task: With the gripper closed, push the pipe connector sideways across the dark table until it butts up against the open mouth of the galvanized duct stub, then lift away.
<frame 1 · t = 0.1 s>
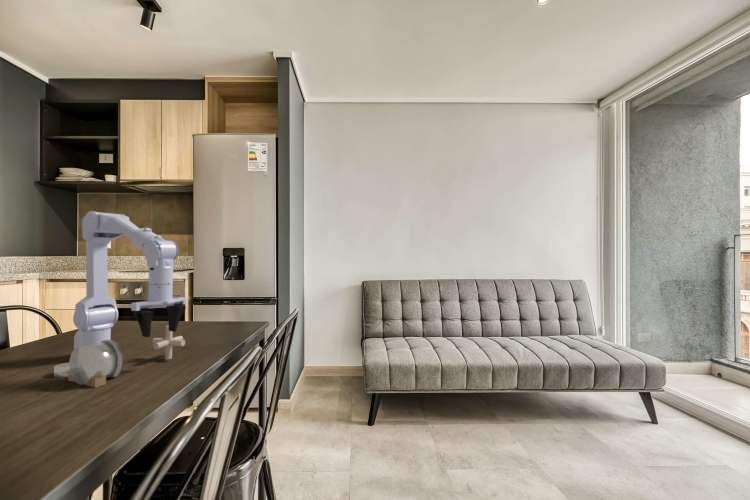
hand: (159, 333, 100), 10 cm above the table, tool pointing down, fingers open, 7 cm apart
foil tape roll: (66, 374, 96), on the table
duct stub: (95, 379, 92), on the table
pipe connector: (168, 359, 111), on the table
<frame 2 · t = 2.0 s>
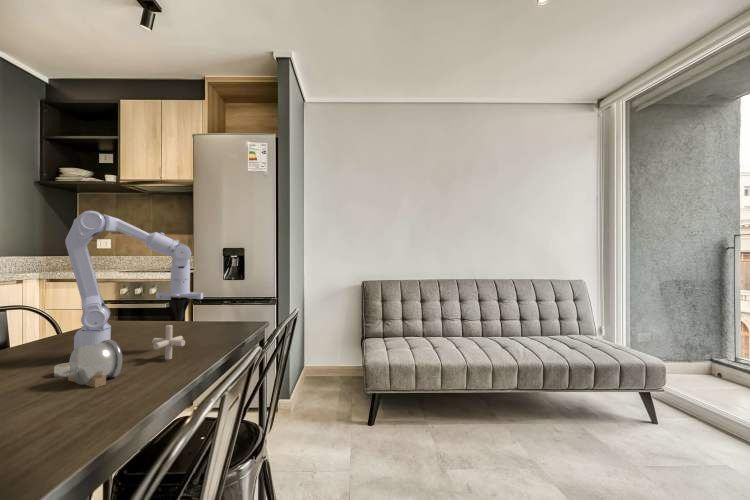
hand: (179, 320, 123), 9 cm above the table, tool pointing down, fingers closed
nothing on the table moved.
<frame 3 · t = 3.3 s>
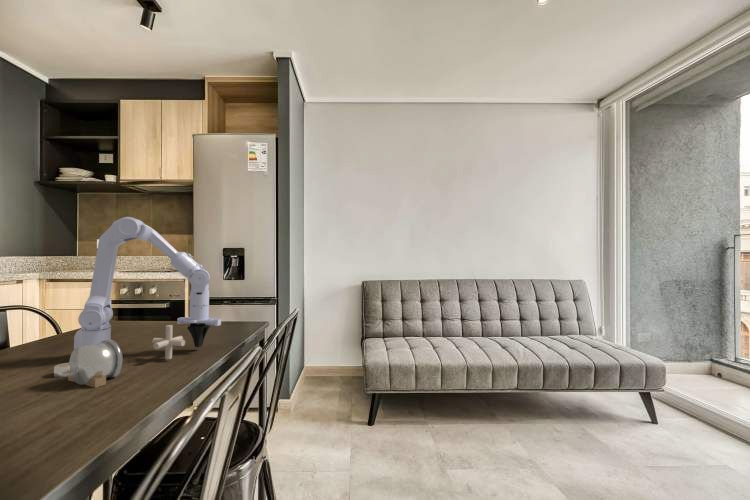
hand: (198, 346, 121), 1 cm above the table, tool pointing down, fingers closed
nothing on the table moved.
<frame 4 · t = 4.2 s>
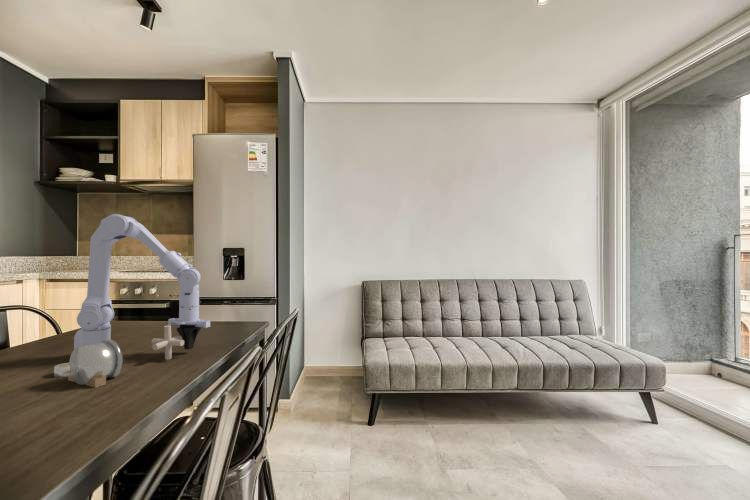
hand: (188, 348, 118), 1 cm above the table, tool pointing down, fingers closed
pipe connector: (168, 359, 111), on the table, touching gripper
everything else where it was.
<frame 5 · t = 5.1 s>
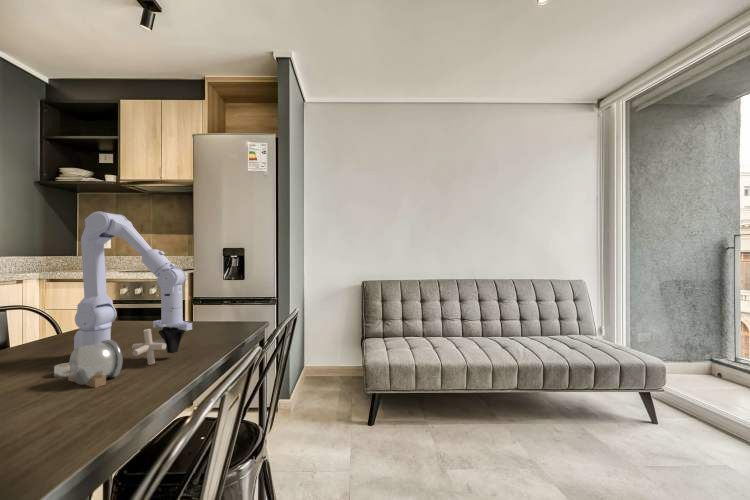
hand: (172, 352, 112), 2 cm above the table, tool pointing down, fingers closed
pipe connector: (151, 364, 106), on the table, touching gripper
everything else where it was.
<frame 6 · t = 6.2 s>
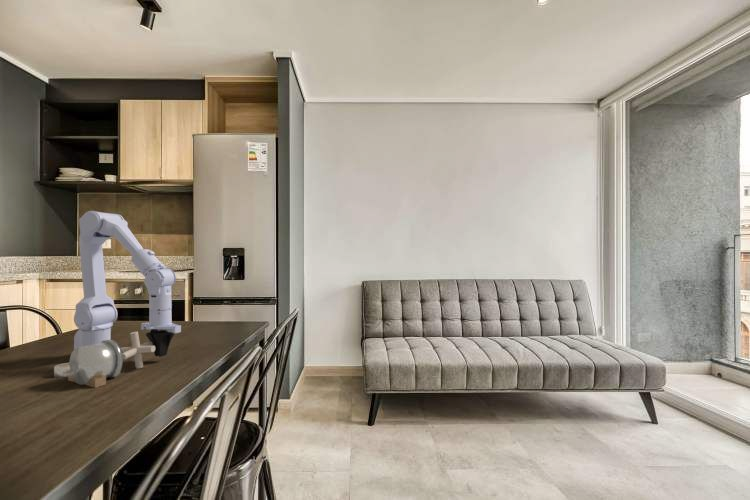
hand: (160, 355, 108), 2 cm above the table, tool pointing down, fingers closed
pipe connector: (139, 368, 103), on the table, touching gripper
everything else where it was.
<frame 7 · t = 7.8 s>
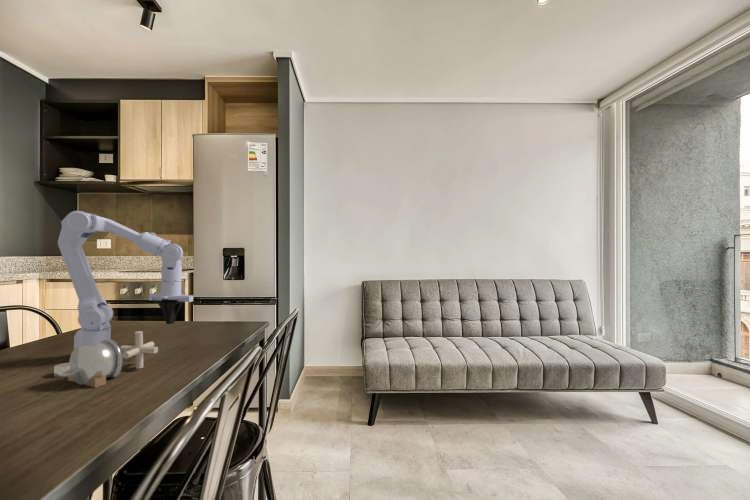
hand: (170, 323, 118), 9 cm above the table, tool pointing down, fingers closed
pipe connector: (139, 368, 103), on the table
everything else where it was.
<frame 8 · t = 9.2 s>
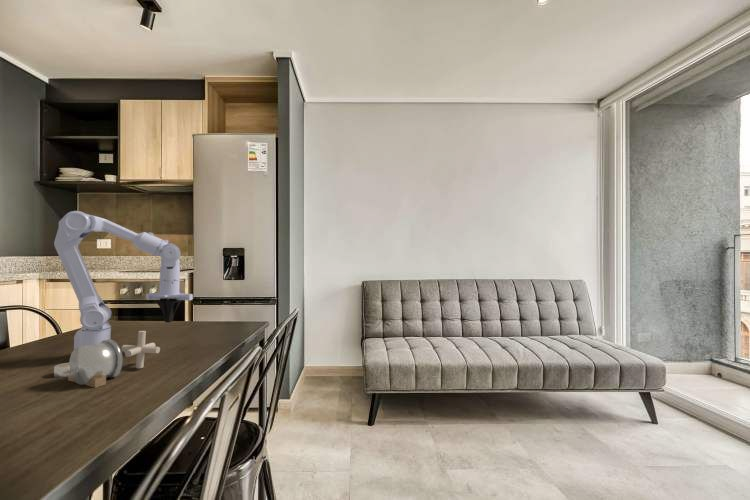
hand: (168, 321, 120), 9 cm above the table, tool pointing down, fingers closed
nothing on the table moved.
at the end: pipe connector inside the target area (1.2 cm from its centre), on the table; pipe connector tilted 2°; pipe connector moved 9.4 cm from its start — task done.
